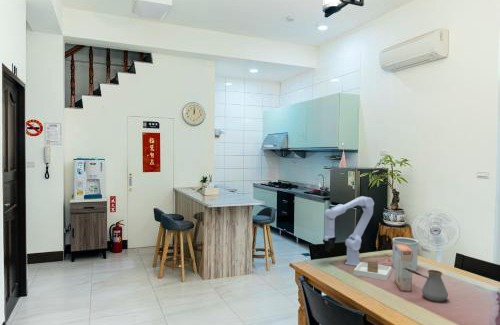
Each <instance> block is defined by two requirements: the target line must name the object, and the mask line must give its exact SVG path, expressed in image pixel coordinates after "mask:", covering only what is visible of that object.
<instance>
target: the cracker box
mask: <svg viewBox="0 0 500 325" xmlns="http://www.w3.org/2000/svg"><path fill="white" fill-rule="evenodd" d="M412 257H413V251H412V250H411V249H410V248H409V247H408V246H407V245H403V244H396V245H395V268H394V283H395V284H396V286H397V288H398V290H399V291H402V292H403V291H404V292H412V290H413V287H412V286H413V284H412V283H413V273H412V272H410V271H408V270H406V269H405V268H407V269H410V270H412ZM403 269H404V270H403ZM405 270H406V271H405ZM403 271H404V272H403Z"/></svg>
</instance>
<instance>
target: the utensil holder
mask: <svg viewBox="0 0 500 325" xmlns="http://www.w3.org/2000/svg"><path fill="white" fill-rule="evenodd" d="M391 242H392V268H394V269H395V245H396V244H403V245H407V246H408V247H409V248H410V249H411V250H412V251H413V257H412V270H413V271H416V272H417V270H418V254H419V253H418V251H419V244H420V243H419V240H418V239H415V238H411V237H401V236H399V237H398V236H397V237H393V238H392V240H391Z"/></svg>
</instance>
